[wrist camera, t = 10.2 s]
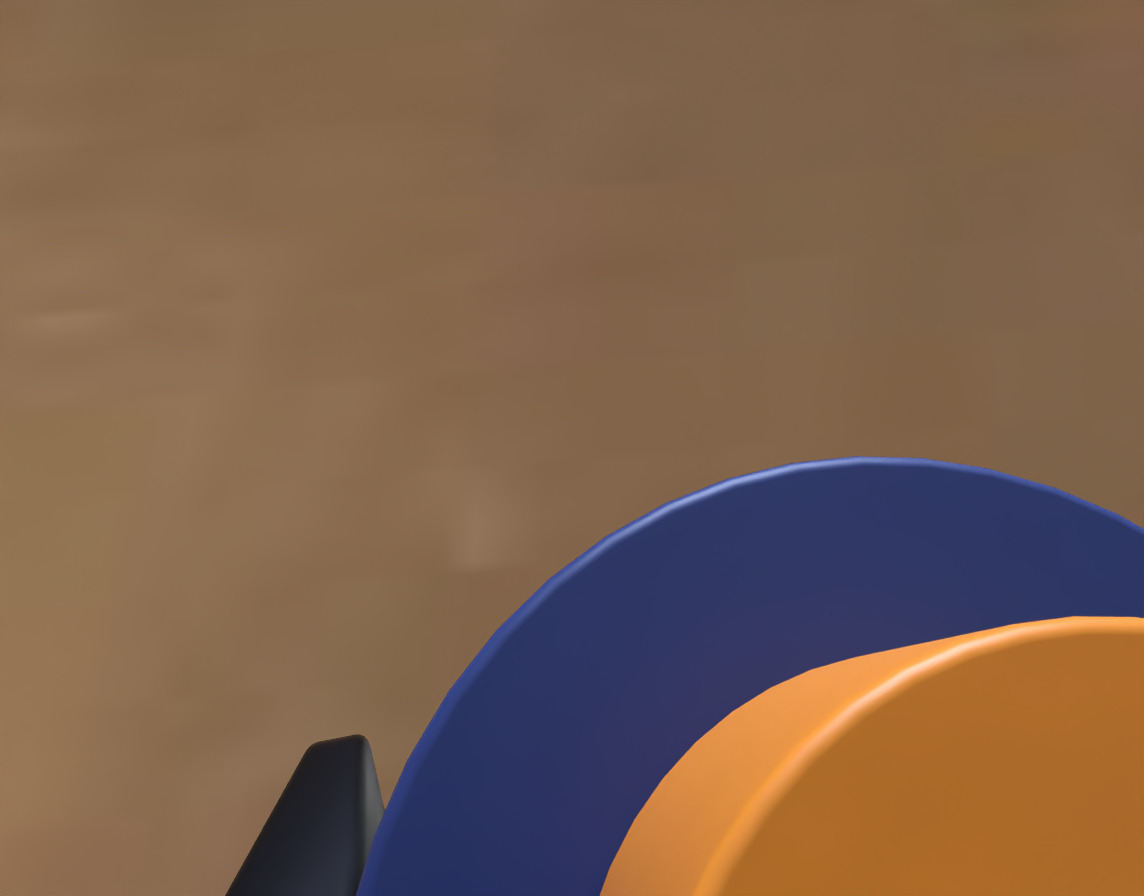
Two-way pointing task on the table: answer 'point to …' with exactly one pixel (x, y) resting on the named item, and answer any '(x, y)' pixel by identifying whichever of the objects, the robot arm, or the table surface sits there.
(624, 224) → the table surface
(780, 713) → the glue bottle
